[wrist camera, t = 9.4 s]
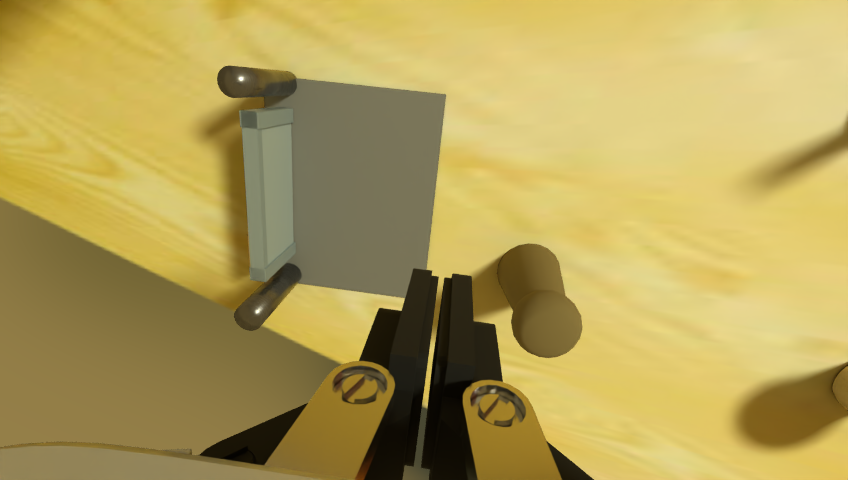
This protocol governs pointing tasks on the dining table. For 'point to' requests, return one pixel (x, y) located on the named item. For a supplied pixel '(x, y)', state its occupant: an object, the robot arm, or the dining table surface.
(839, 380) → the flower pot
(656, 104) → the dining table surface
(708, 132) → the dining table surface
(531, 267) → the cork
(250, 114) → the gate
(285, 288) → the stile
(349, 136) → the mat
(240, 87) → the hinge post
